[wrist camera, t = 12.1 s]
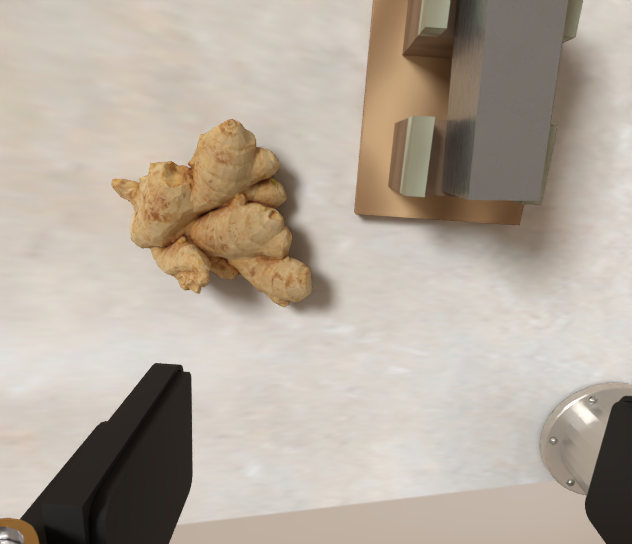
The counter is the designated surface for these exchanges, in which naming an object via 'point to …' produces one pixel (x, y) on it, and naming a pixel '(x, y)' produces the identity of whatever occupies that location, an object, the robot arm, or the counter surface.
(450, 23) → the post rig
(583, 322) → the counter surface
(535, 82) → the bracket bar
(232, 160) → the ginger root
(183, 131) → the counter surface
